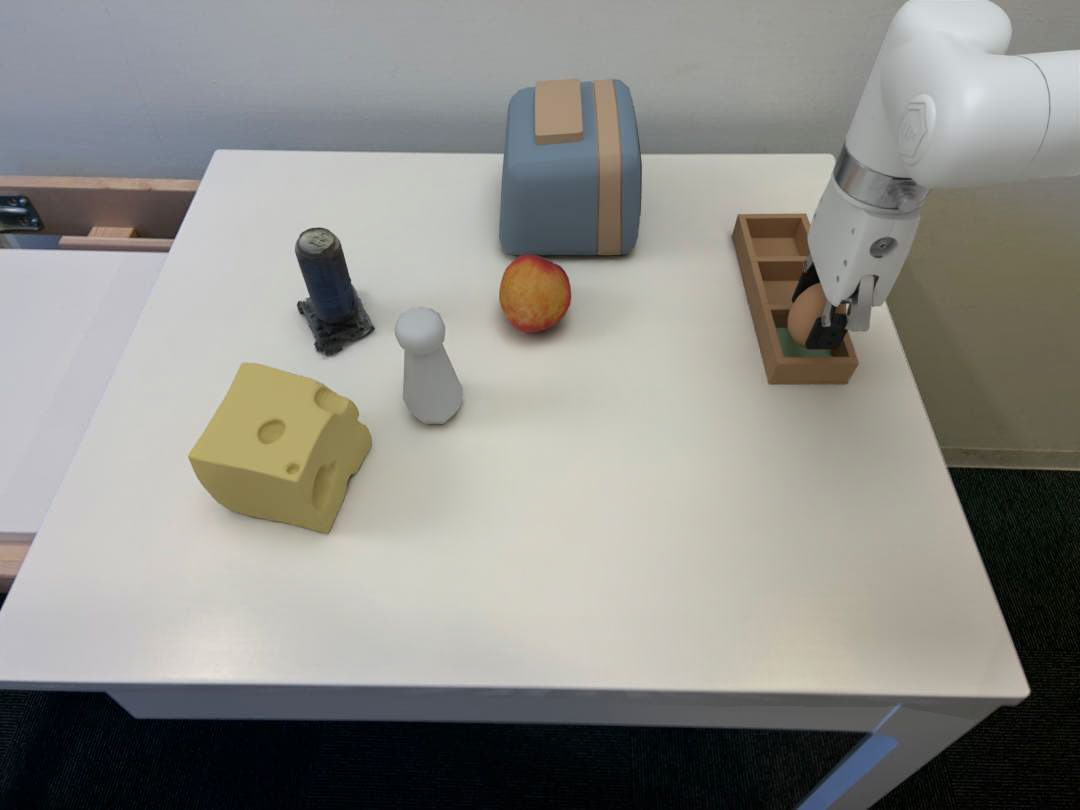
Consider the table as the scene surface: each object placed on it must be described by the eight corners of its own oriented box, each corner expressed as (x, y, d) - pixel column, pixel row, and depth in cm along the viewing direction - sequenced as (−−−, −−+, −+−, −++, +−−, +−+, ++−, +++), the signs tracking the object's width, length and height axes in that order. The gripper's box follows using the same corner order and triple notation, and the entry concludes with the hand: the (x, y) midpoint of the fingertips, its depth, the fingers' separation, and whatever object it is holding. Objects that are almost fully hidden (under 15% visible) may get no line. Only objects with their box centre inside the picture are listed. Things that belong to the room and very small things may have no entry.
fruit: (585, 312, 78) (589, 258, 71) (541, 357, 74) (541, 305, 67) (529, 282, 80) (528, 228, 74) (484, 324, 77) (479, 271, 70)
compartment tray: (847, 383, 72) (859, 363, 69) (768, 384, 72) (777, 363, 69) (797, 235, 85) (806, 213, 82) (731, 236, 85) (737, 213, 82)
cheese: (375, 443, 68) (352, 380, 59) (328, 543, 62) (296, 488, 53) (277, 421, 69) (241, 357, 61) (222, 516, 63) (175, 459, 55)
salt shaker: (398, 425, 69) (372, 338, 58) (418, 380, 72) (397, 290, 61) (455, 437, 68) (439, 351, 57) (472, 391, 71) (460, 302, 61)
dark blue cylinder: (387, 328, 76) (365, 243, 67) (324, 362, 74) (291, 279, 64) (346, 282, 80) (319, 196, 71) (285, 312, 78) (248, 227, 68)
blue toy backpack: (637, 263, 82) (655, 143, 69) (499, 263, 82) (491, 143, 69) (627, 176, 92) (641, 57, 79) (503, 176, 92) (497, 57, 79)
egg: (819, 320, 74) (845, 265, 68) (838, 357, 71) (868, 303, 65) (772, 326, 74) (794, 270, 67) (790, 364, 71) (814, 309, 64)
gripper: (972, 241, 50) (875, 392, 65) (899, 108, 60) (829, 265, 75) (868, 242, 50) (795, 392, 65) (812, 109, 60) (759, 265, 75)
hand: (814, 323), depth 70 cm, fingers closed on egg, 5 cm apart
